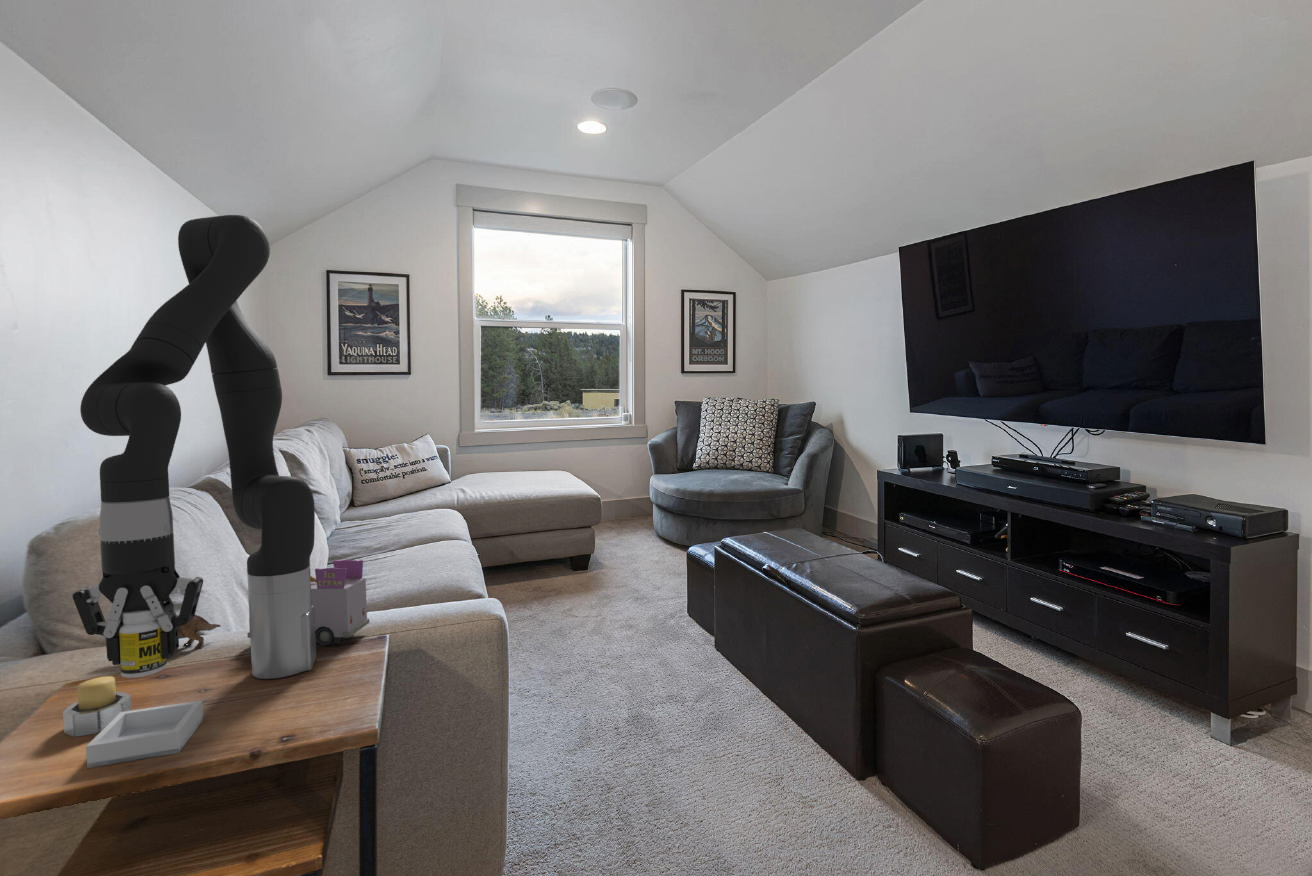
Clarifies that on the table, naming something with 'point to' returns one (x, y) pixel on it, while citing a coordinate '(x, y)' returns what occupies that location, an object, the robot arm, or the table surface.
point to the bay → (145, 734)
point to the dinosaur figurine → (195, 630)
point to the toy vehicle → (338, 601)
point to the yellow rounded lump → (96, 693)
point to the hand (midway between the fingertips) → (143, 659)
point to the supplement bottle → (140, 644)
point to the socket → (94, 716)
